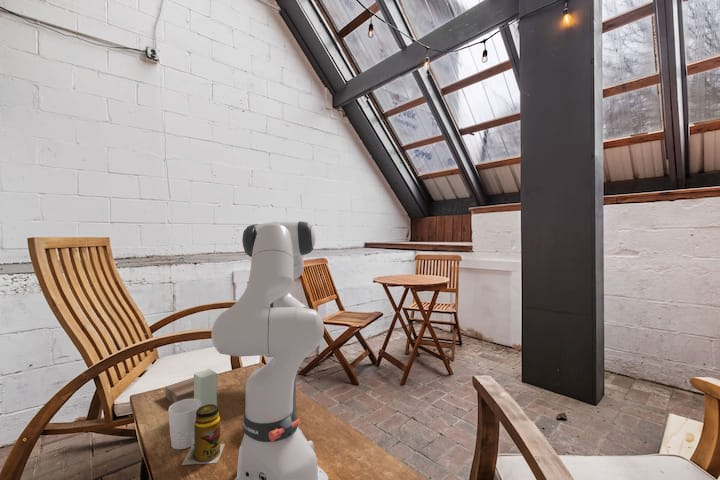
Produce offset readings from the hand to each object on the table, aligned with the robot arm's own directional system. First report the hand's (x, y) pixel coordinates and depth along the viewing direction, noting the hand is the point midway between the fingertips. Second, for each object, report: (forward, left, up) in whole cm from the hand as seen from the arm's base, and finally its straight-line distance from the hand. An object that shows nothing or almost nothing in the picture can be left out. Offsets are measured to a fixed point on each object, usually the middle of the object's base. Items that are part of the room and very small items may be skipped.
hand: (240, 349), depth 118 cm
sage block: (0, +12, -17) cm, 21 cm away
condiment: (-21, +22, -17) cm, 35 cm away
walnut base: (+14, +12, -17) cm, 25 cm away
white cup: (-12, +23, -17) cm, 31 cm away
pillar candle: (-20, -2, -17) cm, 26 cm away
